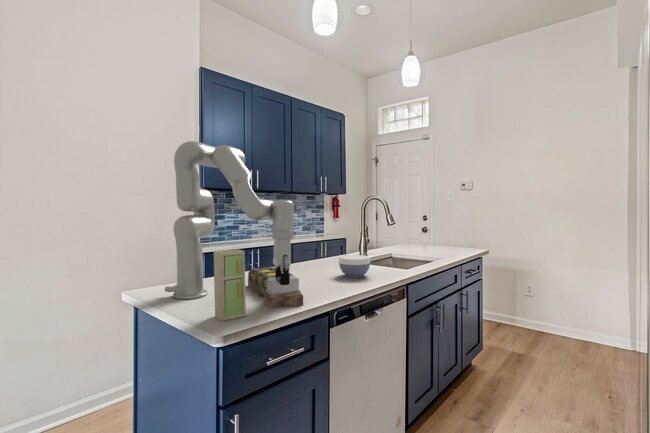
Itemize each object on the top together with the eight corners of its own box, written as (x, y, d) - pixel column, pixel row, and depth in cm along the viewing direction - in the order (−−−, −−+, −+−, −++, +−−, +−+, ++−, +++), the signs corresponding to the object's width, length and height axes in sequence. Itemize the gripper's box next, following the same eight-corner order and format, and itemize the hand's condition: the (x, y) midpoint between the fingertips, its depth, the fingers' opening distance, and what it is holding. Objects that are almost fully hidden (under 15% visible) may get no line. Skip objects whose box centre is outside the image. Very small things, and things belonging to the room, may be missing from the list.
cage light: (275, 264, 163) (300, 275, 136) (275, 281, 163) (301, 296, 136) (244, 267, 156) (264, 279, 129) (244, 284, 156) (265, 300, 130)
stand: (269, 308, 119) (269, 296, 119) (265, 300, 129) (265, 290, 129) (303, 305, 123) (303, 293, 123) (296, 298, 132) (296, 287, 132)
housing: (270, 295, 120) (270, 281, 120) (265, 291, 126) (265, 277, 126) (300, 292, 125) (300, 278, 125) (294, 288, 131) (294, 275, 131)
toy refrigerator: (222, 322, 105) (221, 253, 104) (214, 316, 111) (213, 250, 110) (246, 317, 110) (246, 251, 109) (238, 311, 115) (237, 248, 115)
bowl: (335, 273, 180) (335, 255, 180) (365, 272, 183) (365, 254, 183) (342, 279, 165) (342, 259, 164) (374, 278, 168) (374, 258, 167)
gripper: (268, 232, 132) (268, 277, 133) (276, 237, 116) (275, 288, 116) (288, 232, 134) (287, 276, 135) (298, 236, 118) (297, 286, 119)
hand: (282, 281), depth 126 cm, fingers open, 9 cm apart
